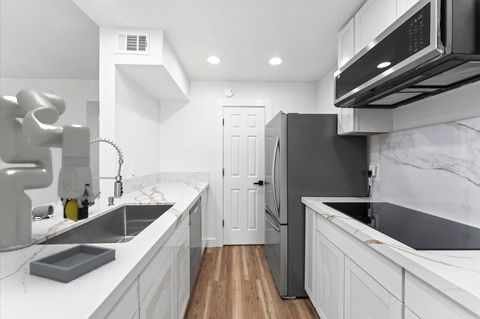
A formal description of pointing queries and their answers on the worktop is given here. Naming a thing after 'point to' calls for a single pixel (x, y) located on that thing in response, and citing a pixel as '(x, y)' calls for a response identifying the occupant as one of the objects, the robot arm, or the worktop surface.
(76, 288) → the worktop surface
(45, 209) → the ceramic mug
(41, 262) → the tray
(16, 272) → the worktop surface
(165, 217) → the worktop surface
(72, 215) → the lemon
